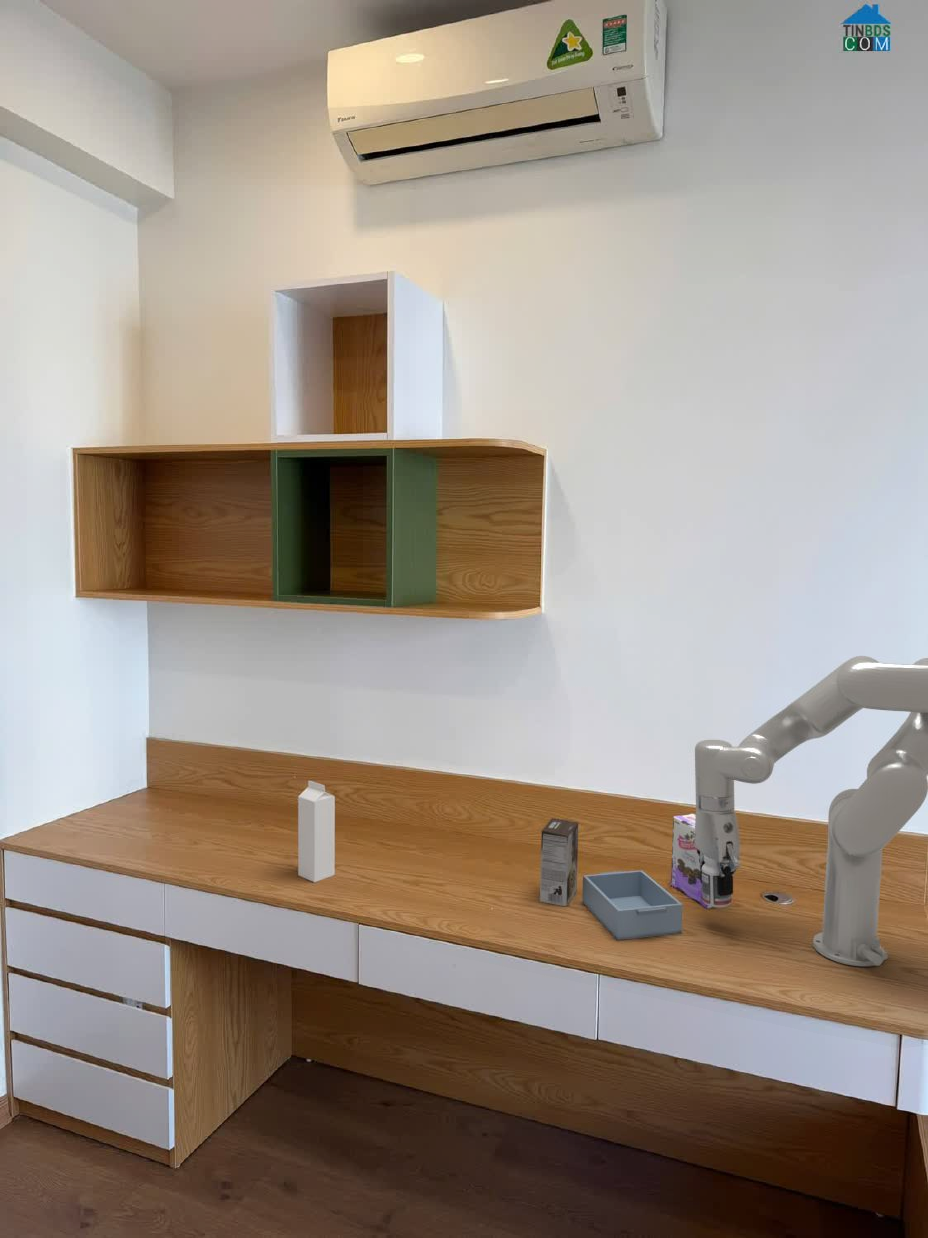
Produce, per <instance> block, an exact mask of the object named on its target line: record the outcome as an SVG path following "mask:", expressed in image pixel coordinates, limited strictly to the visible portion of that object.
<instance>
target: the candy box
mask: <svg viewBox="0 0 928 1238" xmlns="http://www.w3.org/2000/svg"><path fill="white" fill-rule="evenodd" d="M672 817H673V819H672V820H673V821H672V844H671V845H672V846H671V847H672V849H671V871H670V872H671V873H670V885H671V887H674V888H675V889H676V890H678V891H679V892H682V893H683V894H684V895H685V896H687V897H688V898H690V899H692V900H693V901H695V902H696V903H697V904H700V905H701V907H704V908H705V909H715V908H717V907H711V906H708V905H706V904H705V903H704V902H703V900H702V883H701V882H700V865H702V864H700V863H699V855H698V853H697V848H696V846H695V843H694V840H695V818H696V813H689V814H682V815H675V816H672ZM726 864H727V863H726Z"/></svg>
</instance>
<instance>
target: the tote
mask: <svg viewBox="0 0 928 1238" xmlns="http://www.w3.org/2000/svg"><path fill="white" fill-rule="evenodd" d="M581 894H582V895H581V897H582V898H581V901H582V904H583V905H584V906H585V907H586V908H587V909H588V911H589V912H591V914H592V915H593V916H594V917H595V918H596V919H597V920H598V921H599V922H600V923H601V924H602V926H603V927H604V928H605V929H606V930H607V931H608V932H609V933H610V934H611V935H612V936H613V937H614V938H615V939H616V941H623V940H630V939H631V940H632V939H642V938H650V937H659V936H668V935H677V934H682V933H683V931H682V930H683V929H682V928H683V912H684V910H683V907H684V905H683V903H682V902H680V901H679V900H678V899H677V898H676V897H675V896H674V895H672V894H671V893H670V892H668V891H667V890H666V889H665V888H664V887H663V886H661V885H660V884H659V883H658V882H656V881H655V880H654V879H653V878H651V876H649V874H647V873H646V872H645V871H644V870H629V871H624V870H618V871H617V870H616V871H615V870H613V871H607V872H606V871H605V872H603V871H602V872H598V873H597V874H587V875H582V893H581Z"/></svg>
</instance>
